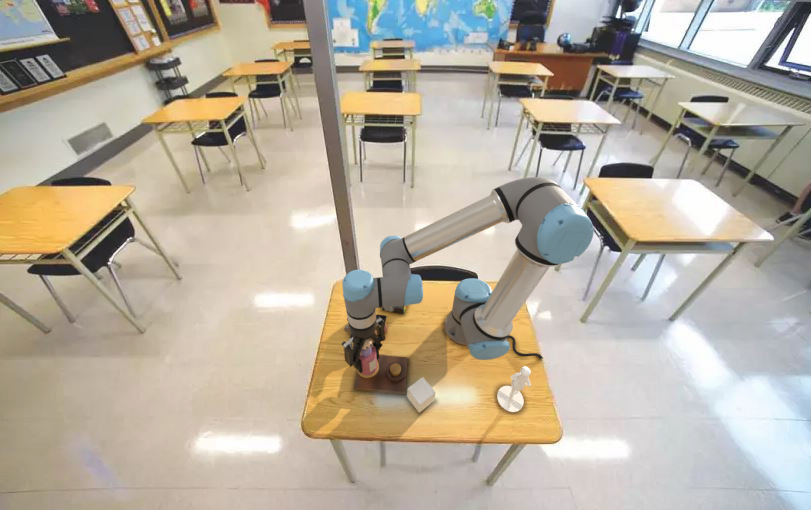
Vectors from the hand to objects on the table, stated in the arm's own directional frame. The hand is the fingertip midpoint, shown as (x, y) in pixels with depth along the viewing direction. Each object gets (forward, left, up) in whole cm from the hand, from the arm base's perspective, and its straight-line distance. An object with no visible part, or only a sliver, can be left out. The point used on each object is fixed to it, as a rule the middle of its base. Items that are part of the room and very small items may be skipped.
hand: (367, 362), depth 100 cm
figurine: (-45, +4, -7) cm, 46 cm away
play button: (-9, 0, -4) cm, 10 cm away
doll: (0, 0, -3) cm, 3 cm away
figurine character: (+4, -16, -7) cm, 18 cm away
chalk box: (-5, -30, -7) cm, 31 cm away
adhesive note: (-17, +7, -7) cm, 20 cm away
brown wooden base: (-4, 0, -7) cm, 8 cm away
